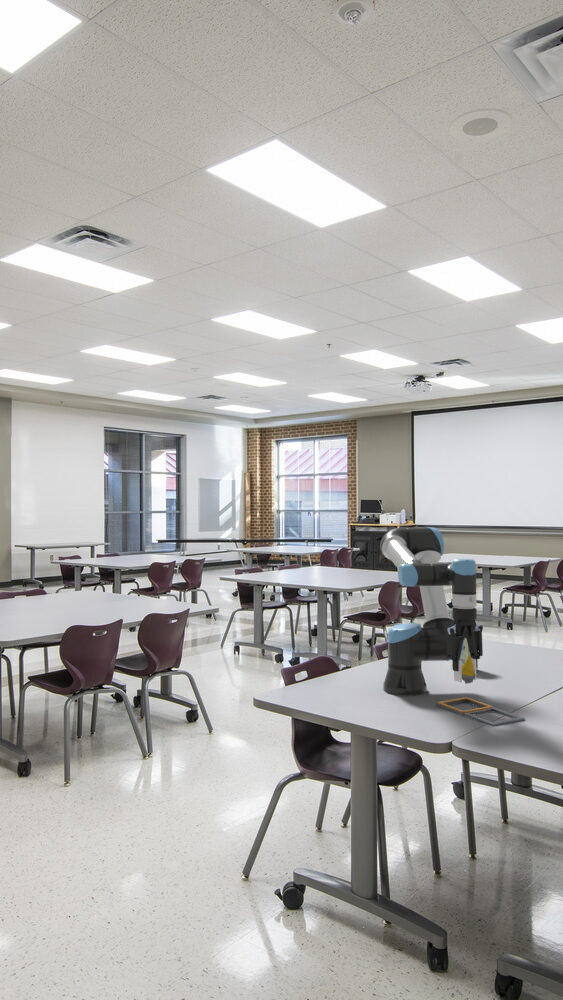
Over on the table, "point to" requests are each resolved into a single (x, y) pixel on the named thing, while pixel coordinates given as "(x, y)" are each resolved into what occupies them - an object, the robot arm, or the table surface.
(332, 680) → the table surface
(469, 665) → the yellow cone
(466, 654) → the coffee can
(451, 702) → the orange gray double frame
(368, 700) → the table surface
